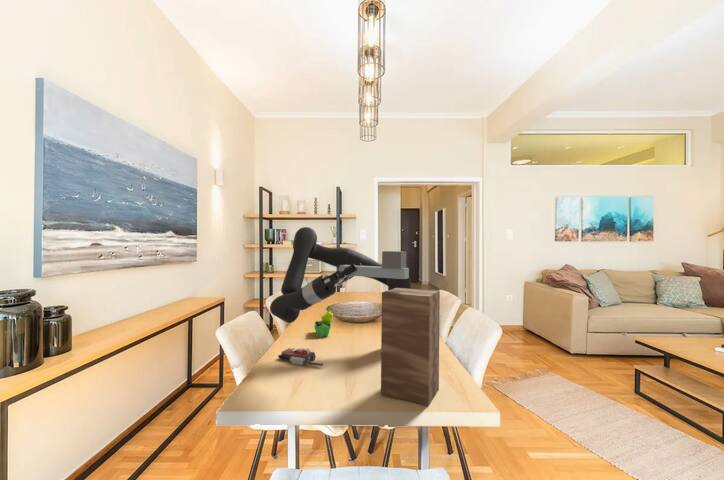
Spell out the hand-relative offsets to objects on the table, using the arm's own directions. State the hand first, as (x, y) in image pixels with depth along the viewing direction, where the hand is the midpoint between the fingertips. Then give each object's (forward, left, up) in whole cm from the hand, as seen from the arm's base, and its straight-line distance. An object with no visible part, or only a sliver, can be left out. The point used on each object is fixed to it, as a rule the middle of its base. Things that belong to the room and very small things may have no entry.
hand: (358, 266), depth 110 cm
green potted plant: (-42, -39, -37) cm, 69 cm away
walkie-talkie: (-7, -26, -37) cm, 46 cm away
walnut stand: (0, +18, -37) cm, 41 cm away
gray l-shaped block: (0, +5, -3) cm, 6 cm away
